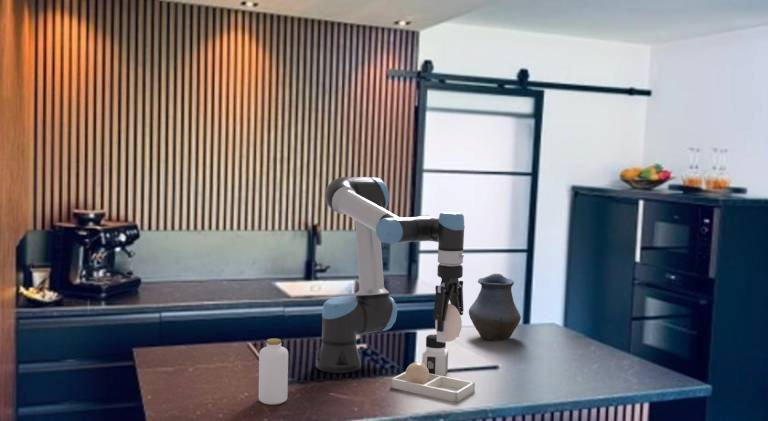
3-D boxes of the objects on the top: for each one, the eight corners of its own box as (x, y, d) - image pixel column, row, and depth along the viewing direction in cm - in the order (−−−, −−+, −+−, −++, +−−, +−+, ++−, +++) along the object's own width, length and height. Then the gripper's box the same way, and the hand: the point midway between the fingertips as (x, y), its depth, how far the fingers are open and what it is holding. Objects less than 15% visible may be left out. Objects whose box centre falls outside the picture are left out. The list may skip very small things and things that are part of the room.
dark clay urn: (466, 342, 285) (468, 279, 283) (469, 329, 307) (471, 270, 305) (520, 346, 282) (522, 282, 280) (519, 333, 303) (521, 273, 301)
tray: (390, 389, 226) (391, 378, 226) (410, 379, 237) (410, 369, 236) (456, 404, 215) (457, 393, 214) (474, 393, 225) (474, 382, 225)
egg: (464, 339, 223) (465, 302, 222) (457, 345, 216) (458, 307, 215) (438, 336, 226) (439, 300, 225) (431, 342, 219) (432, 305, 218)
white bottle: (259, 396, 217) (260, 336, 216) (288, 396, 218) (289, 336, 216) (257, 405, 209) (258, 343, 207) (286, 405, 210) (287, 344, 208)
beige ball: (400, 386, 227) (401, 363, 227) (412, 380, 233) (413, 357, 233) (421, 391, 223) (422, 367, 223) (433, 385, 230) (433, 361, 229)
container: (444, 378, 240) (446, 339, 239) (421, 376, 241) (422, 337, 240) (447, 371, 247) (449, 333, 246) (424, 369, 249) (426, 331, 248)
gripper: (445, 269, 208) (442, 348, 210) (476, 261, 226) (474, 334, 228) (422, 266, 212) (420, 344, 214) (454, 259, 230) (452, 330, 232)
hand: (447, 338), depth 221 cm, fingers closed on egg, 8 cm apart
